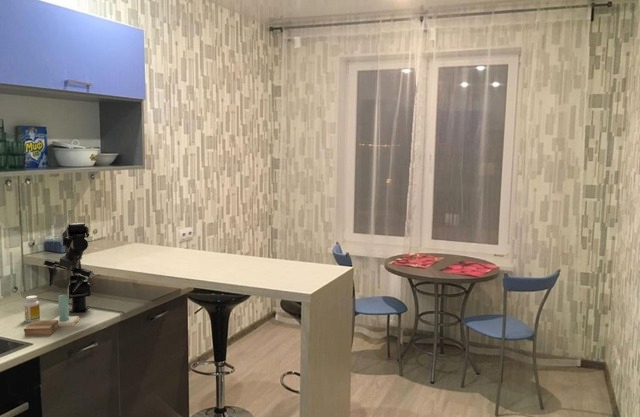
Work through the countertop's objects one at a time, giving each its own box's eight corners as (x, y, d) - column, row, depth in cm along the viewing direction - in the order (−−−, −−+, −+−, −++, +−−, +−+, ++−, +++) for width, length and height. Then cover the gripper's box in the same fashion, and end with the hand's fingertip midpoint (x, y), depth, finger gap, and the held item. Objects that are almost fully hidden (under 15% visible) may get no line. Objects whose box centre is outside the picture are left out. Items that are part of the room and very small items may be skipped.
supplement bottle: (42, 317, 224) (41, 294, 222) (36, 321, 218) (34, 298, 217) (29, 317, 223) (28, 294, 222) (22, 321, 218) (21, 298, 217)
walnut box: (34, 328, 211) (33, 320, 211) (58, 327, 212) (58, 320, 212) (24, 336, 202) (23, 328, 202) (50, 335, 203) (49, 328, 203)
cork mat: (55, 319, 222) (55, 318, 222) (81, 318, 223) (81, 317, 223) (46, 327, 212) (46, 326, 212) (73, 326, 213) (73, 325, 213)
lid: (57, 318, 221) (55, 293, 220) (78, 317, 223) (77, 292, 221) (49, 325, 213) (47, 299, 212) (72, 324, 214) (70, 298, 213)
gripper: (46, 243, 215) (31, 280, 211) (92, 255, 216) (78, 293, 212) (55, 247, 226) (41, 283, 222) (99, 259, 227) (86, 295, 223)
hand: (61, 288), depth 219 cm, fingers open, 9 cm apart
